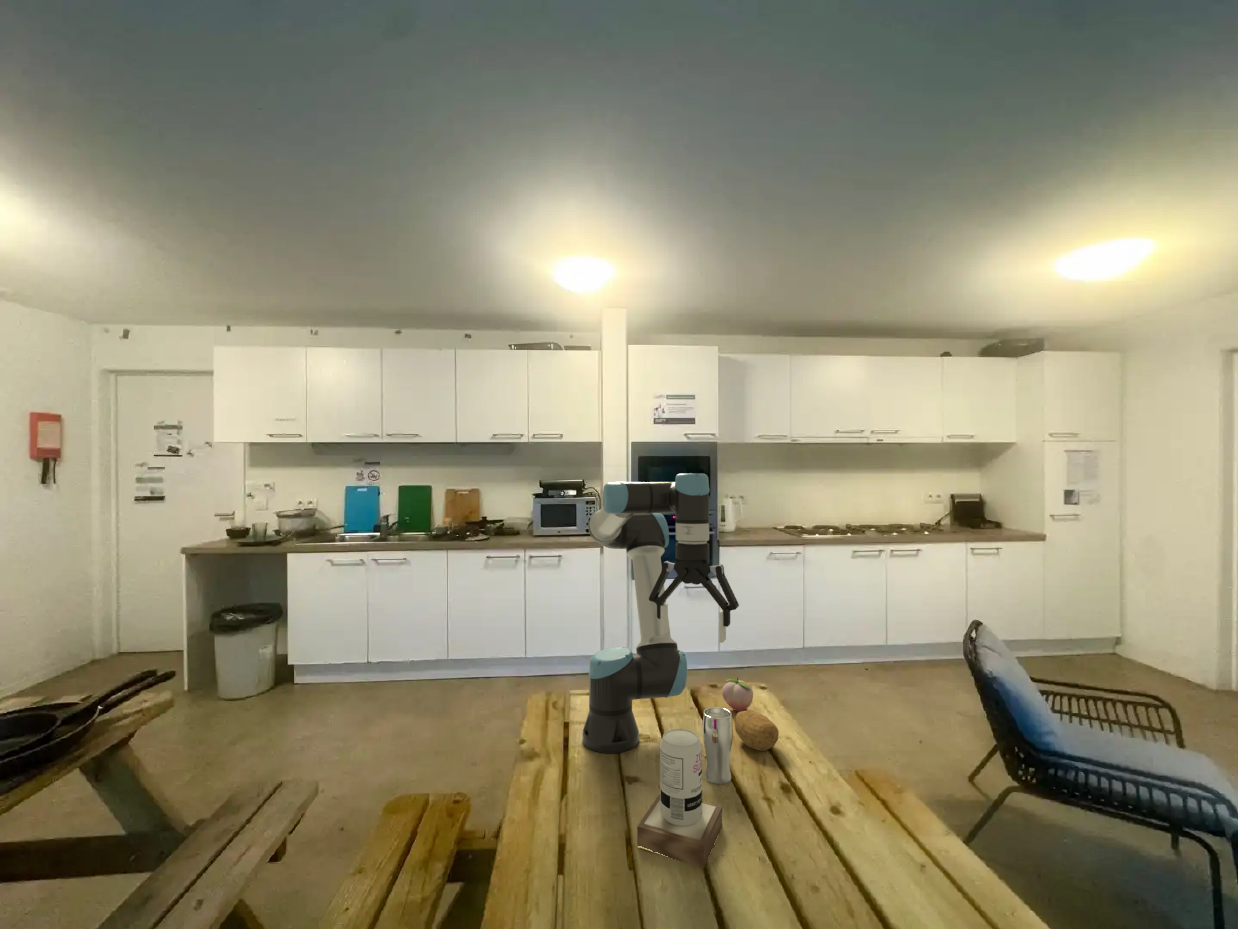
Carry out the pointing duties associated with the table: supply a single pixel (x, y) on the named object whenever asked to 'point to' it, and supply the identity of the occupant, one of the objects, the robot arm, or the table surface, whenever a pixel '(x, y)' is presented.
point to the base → (681, 834)
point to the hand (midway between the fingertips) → (692, 637)
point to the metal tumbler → (717, 744)
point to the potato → (756, 730)
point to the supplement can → (681, 777)
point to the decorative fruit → (737, 694)
